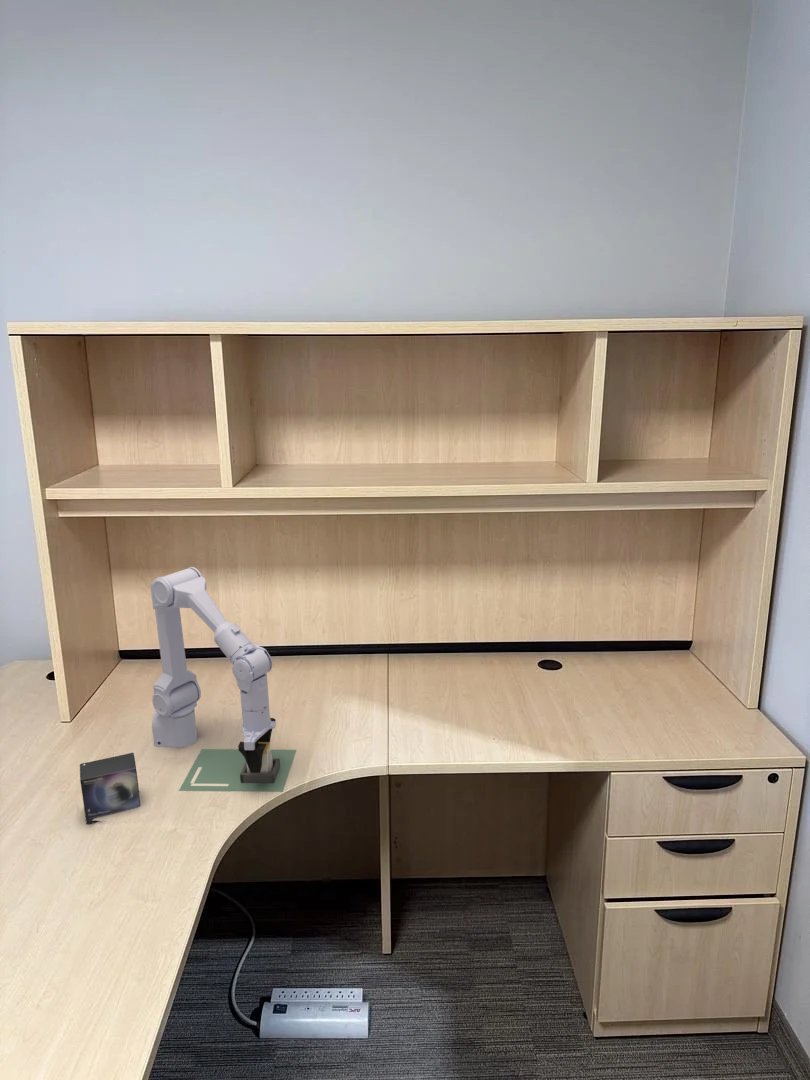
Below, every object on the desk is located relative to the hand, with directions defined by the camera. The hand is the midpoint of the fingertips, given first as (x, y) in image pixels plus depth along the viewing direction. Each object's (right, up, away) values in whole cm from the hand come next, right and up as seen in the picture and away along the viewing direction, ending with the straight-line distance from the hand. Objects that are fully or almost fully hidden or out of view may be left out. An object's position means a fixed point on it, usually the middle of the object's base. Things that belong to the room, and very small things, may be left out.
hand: (259, 761), depth 160 cm
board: (-5, -4, +3) cm, 7 cm away
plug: (0, -3, +1) cm, 3 cm away
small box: (-28, -8, -8) cm, 30 cm away
